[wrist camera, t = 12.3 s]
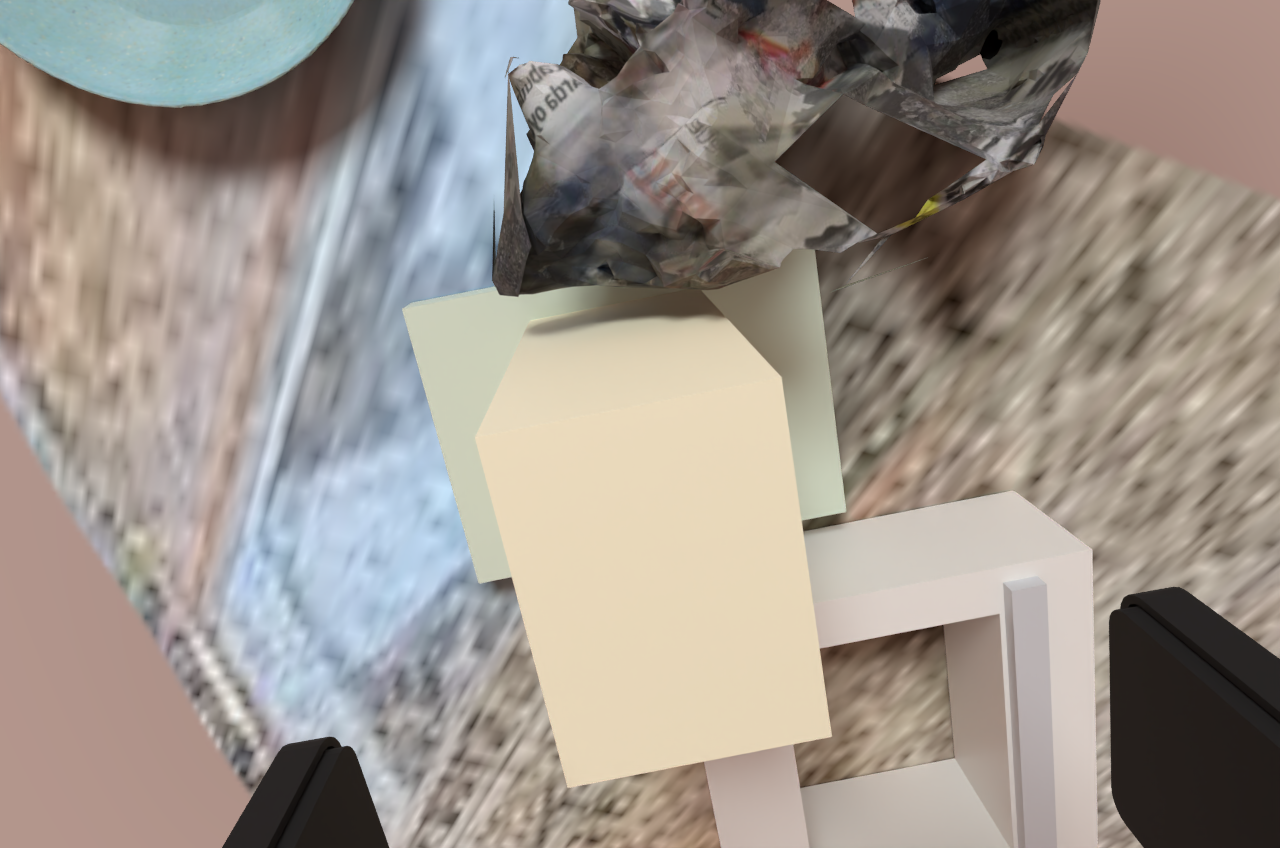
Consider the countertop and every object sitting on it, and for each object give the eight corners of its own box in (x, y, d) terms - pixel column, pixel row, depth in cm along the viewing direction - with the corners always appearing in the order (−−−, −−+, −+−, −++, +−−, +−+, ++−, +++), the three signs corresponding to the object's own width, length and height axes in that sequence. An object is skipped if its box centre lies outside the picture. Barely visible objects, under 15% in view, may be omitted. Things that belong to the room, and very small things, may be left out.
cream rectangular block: (698, 287, 23) (781, 377, 13) (734, 505, 25) (832, 736, 15) (529, 320, 23) (474, 437, 13) (579, 535, 25) (567, 787, 15)
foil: (1121, 260, 22) (695, 362, 14) (819, 231, 30) (441, 284, 22) (1211, -272, 18) (685, -580, 10) (834, -136, 26) (379, -239, 18)
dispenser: (1013, 490, 27) (1103, 557, 22) (1028, 776, 31) (1107, 887, 26) (664, 558, 27) (679, 639, 22) (719, 835, 31) (742, 957, 26)
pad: (802, 225, 24) (812, 228, 23) (835, 497, 27) (846, 511, 26) (411, 302, 24) (402, 308, 23) (484, 566, 27) (479, 583, 26)
